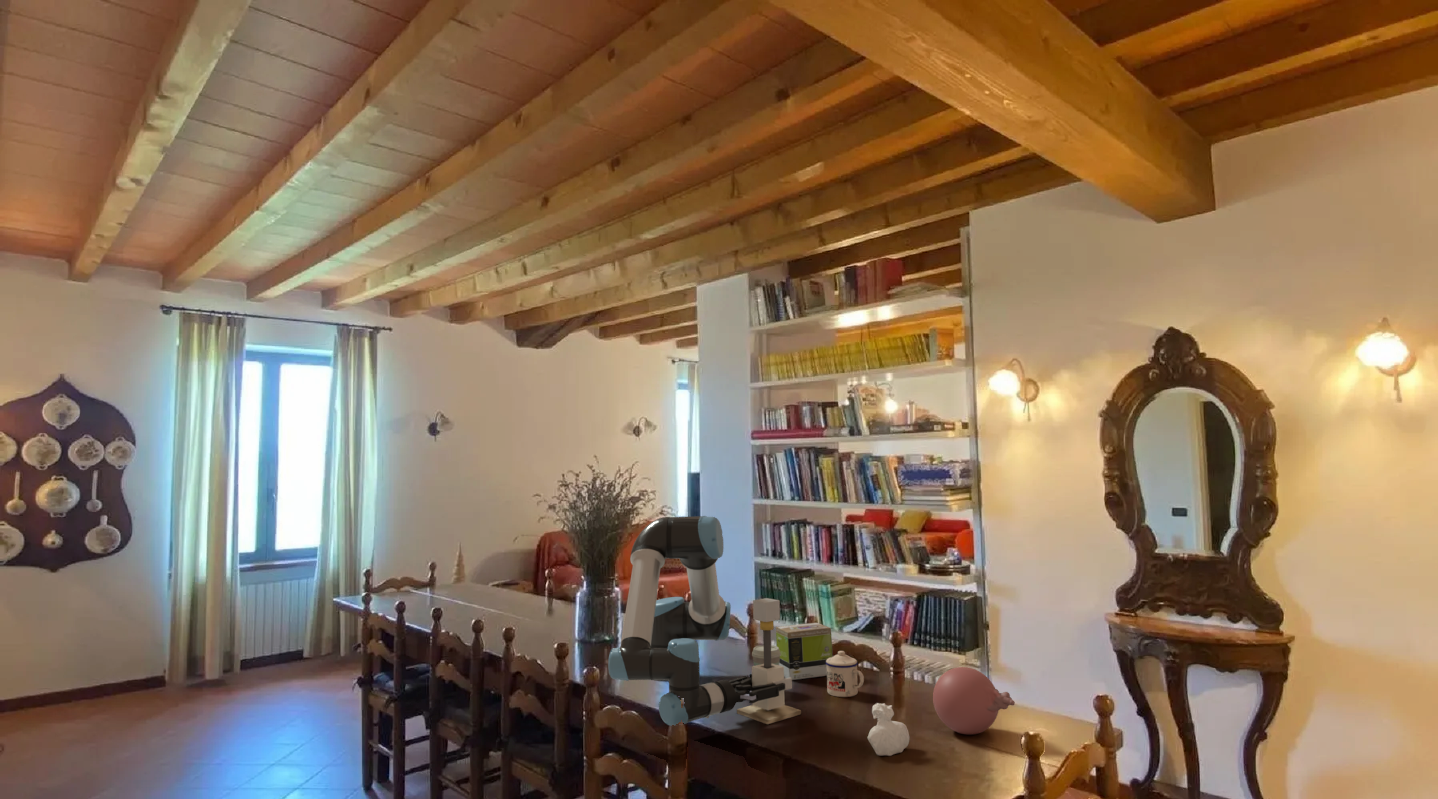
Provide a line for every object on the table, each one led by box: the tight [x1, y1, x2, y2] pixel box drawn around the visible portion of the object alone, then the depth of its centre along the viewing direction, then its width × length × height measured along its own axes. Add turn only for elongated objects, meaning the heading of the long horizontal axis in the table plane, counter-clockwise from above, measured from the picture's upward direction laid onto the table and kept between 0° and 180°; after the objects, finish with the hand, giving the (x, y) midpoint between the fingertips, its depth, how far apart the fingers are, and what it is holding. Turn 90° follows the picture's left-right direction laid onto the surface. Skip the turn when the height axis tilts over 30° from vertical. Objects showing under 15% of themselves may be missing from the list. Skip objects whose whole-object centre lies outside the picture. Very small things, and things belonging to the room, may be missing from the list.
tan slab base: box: [736, 704, 802, 725], centre depth 208 cm, size 12×12×1 cm
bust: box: [867, 702, 910, 757], centre depth 181 cm, size 12×8×11 cm
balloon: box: [932, 666, 1016, 736], centre depth 190 cm, size 15×20×15 cm
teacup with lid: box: [826, 650, 865, 698], centre depth 224 cm, size 12×9×12 cm
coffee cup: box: [751, 645, 781, 666], centre depth 230 cm, size 8×9×12 cm
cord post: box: [752, 597, 781, 711], centre depth 209 cm, size 5×5×28 cm
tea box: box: [775, 622, 834, 681], centre depth 246 cm, size 15×10×15 cm, turn 108°
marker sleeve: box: [751, 663, 786, 710], centre depth 208 cm, size 6×6×10 cm
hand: (782, 680), depth 212 cm, fingers closed on marker sleeve, 6 cm apart
